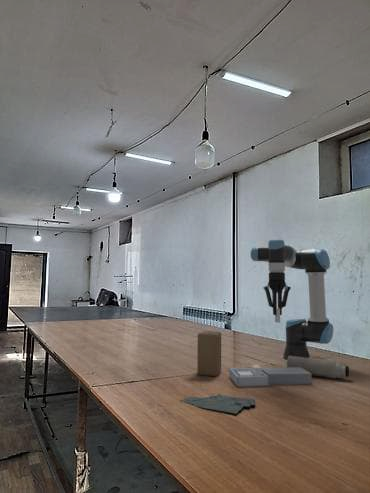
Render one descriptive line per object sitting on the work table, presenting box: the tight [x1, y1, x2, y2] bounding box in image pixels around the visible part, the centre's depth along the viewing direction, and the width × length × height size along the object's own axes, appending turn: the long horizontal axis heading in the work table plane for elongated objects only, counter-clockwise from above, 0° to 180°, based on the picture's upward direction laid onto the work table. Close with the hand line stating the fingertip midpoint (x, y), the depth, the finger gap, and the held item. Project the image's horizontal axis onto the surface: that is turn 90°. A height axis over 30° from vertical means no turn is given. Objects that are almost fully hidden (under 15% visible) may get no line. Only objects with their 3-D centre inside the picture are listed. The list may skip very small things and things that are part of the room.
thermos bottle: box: [286, 356, 350, 379], centre depth 179 cm, size 8×8×28 cm
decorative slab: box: [179, 393, 256, 417], centre depth 136 cm, size 26×24×2 cm
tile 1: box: [237, 372, 254, 377], centre depth 168 cm, size 6×6×3 cm
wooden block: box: [196, 330, 222, 377], centre depth 182 cm, size 10×10×20 cm
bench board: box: [261, 367, 313, 386], centre depth 170 cm, size 20×12×4 cm, turn 96°
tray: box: [228, 367, 270, 388], centre depth 168 cm, size 14×16×4 cm
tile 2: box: [251, 364, 263, 377], centre depth 168 cm, size 6×6×3 cm
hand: (277, 322), depth 172 cm, fingers closed
